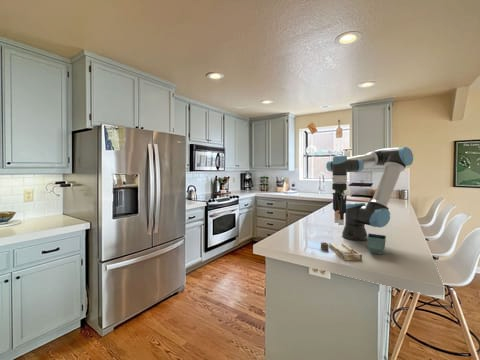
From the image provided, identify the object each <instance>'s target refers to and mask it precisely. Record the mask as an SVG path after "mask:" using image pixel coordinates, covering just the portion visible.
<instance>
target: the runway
mask: <svg viewBox="0 0 480 360" xmlns="http://www.w3.org/2000/svg"><path fill="white" fill-rule="evenodd" d="M328 244H329V246H328V248H330V249H331V250H332V251H334V252H335V253H336V249H339V250H341V251H342V252H343V253H344V254H352V249H353V248H351V247H349V246H348V245H347V244H345V243H344V242H341V244H337V245H335V244H333V243H332V242H329V243H328Z"/></svg>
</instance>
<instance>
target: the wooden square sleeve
mask: <svg viewBox="0 0 480 360" xmlns="http://www.w3.org/2000/svg"><path fill="white" fill-rule="evenodd" d="M320 250H322V251H329V243H328V242H325V241H324V242H323V241H322V242H320Z"/></svg>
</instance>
